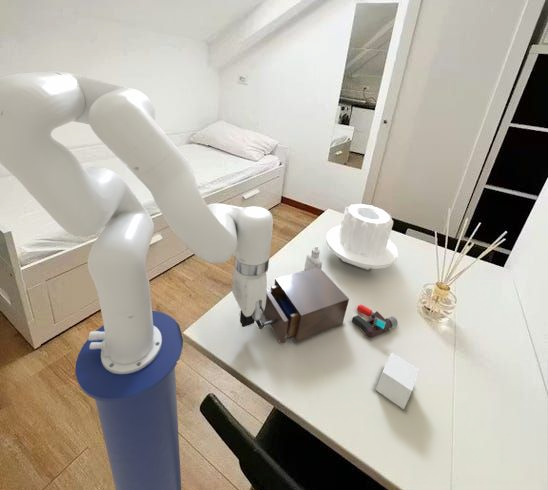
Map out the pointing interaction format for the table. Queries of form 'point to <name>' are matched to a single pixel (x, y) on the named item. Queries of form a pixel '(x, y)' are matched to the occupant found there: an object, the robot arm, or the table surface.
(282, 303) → the blue block
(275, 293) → the drawer
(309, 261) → the eye dropper bottle
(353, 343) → the table surface
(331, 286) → the cabinet
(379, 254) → the flanged gear
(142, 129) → the robot arm
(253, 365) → the table surface
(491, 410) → the table surface
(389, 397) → the white cube
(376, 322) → the toy gun
